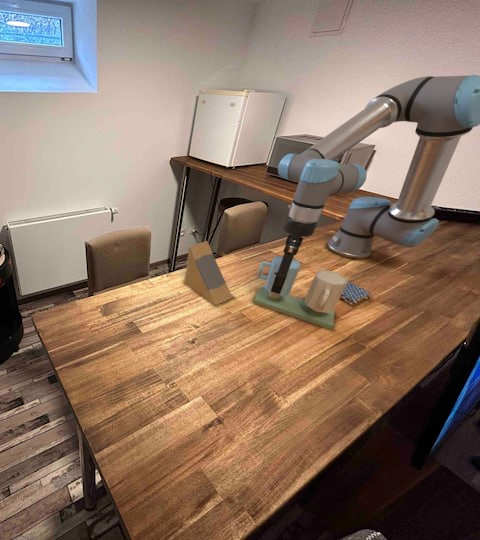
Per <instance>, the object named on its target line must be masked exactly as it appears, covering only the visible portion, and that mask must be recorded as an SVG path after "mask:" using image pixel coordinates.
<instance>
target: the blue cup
mask: <svg viewBox="0 0 480 540" xmlns="http://www.w3.org/2000/svg"><path fill="white" fill-rule="evenodd" d="M283 256H284V255H276V256H274V257H273V258H272V261H271V262H268V261H266V260H265V261H264V260H263V261H261V262H260V265H259V269H258V272H257V276H256V277H257V278H258V279H260V280H262V281H263V280H264V284H263V287H265V289H266V290H267V291H268V292H270V293H272V294H275V295H278V296H286V295H290V294H291V291H292V288H293V286H294V283H295V281H296V279H297V277H298V274H299V272H300V269H301V266H302V264H301V263H300V261H299V260H297V259H295V258H293V260H292V262H291V265H290V268H289V270H288V273H287V277H286V280H285V282H284V285H283V288H282V290H281V293H280V294H278V293H274V292H271V289H272V286H273V283H274V280H275V277H276V275H275V274H274V273H275V272H278V270H279V267H280V264H281V262H282V259H283ZM265 267H268V268H269V269H268V272H267V275H264V274H263V271H264V268H265Z"/></svg>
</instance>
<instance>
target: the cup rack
mask: <svg viewBox="0 0 480 540" xmlns="http://www.w3.org/2000/svg"><path fill="white" fill-rule="evenodd" d="M304 300H305V299H303V298H300V297H296V296H293V295H290V294H288V295H286V296H278V295H275V294H272V293H270V292H268V291H267V290H266V289H265V287H264V286H259V288H258V291H257V293H256V294H255V297H254V299H253V304H254V305H255V304H256V305H257V306H262V307H264V308H267V309H270V310H273V311H275V312H279V313H282V314H283V315H287V316H289V317H293V318H295V319H299V320H301V321H304V322H307V323H310V324H313V325H316V326H319V327H322V328H324V329H328V330H331V331H332V330H333V328H334V323H335V312H336V309H335V308H334V310H333V311H331V312H328V313H326V312H319V311H316V310H314V309H312V308H310V307H308V306H307V305H306V303H305V302H304Z"/></svg>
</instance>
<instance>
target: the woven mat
mask: <svg viewBox="0 0 480 540" xmlns="http://www.w3.org/2000/svg"><path fill="white" fill-rule="evenodd" d="M371 295H372V293H371V292H370V291H369V290H365V288H362V287H360V285H356V284H355V283H352V282H351V281H350V280H347V285H346V287H345V289H344V291H343V292H342V294H341V296H340V298H339V299H341V300H343V301H344V302H345V303H347V304H348V305H350V306H353V305H354V304H358V302H360V301H363V300H368V299H369V298H371Z"/></svg>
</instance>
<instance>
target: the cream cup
mask: <svg viewBox="0 0 480 540" xmlns="http://www.w3.org/2000/svg"><path fill="white" fill-rule="evenodd" d="M347 282H348V278H346V277H345V276H344V275H343V274H341V273H339V272H336V271H332V270H329V269H319V270H317V271H316V272H315V274H314V277H313V279H312V281H311V284H310V286H309V288H308V290H307V292H306V295H305V296H304V299H303V300H304V302H305V303H306V305H307V306H308V307H310V308H312V309H314V310H316V311H319V312H326V313H328V312H331V311H333V310H334V309H335V308H336V306H337V304H338V302H339V300H340V299H341V298H340V296H341V294H342V292H343V291H344V289H345V287H346V285H347Z"/></svg>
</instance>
